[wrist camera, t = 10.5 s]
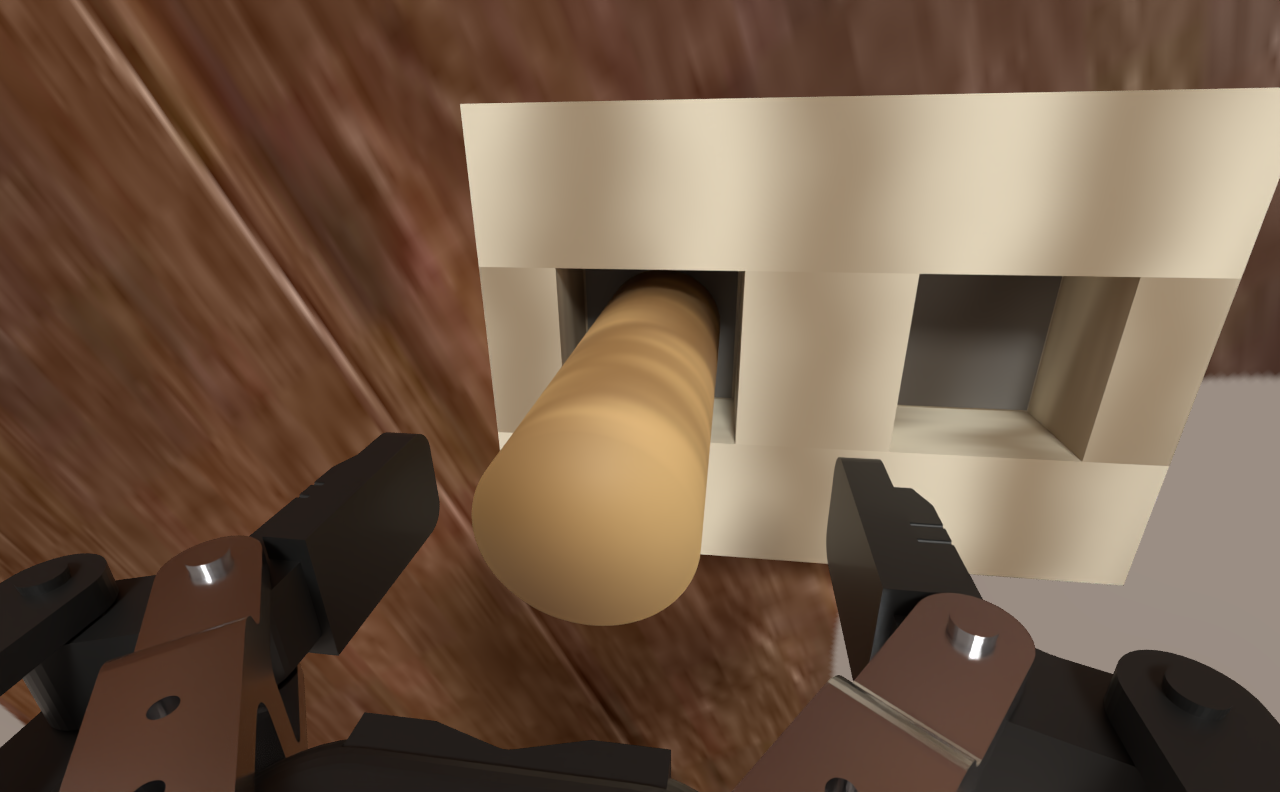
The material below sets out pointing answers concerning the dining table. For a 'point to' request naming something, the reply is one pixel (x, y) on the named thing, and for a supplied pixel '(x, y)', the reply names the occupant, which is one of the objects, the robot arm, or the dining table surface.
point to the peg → (611, 463)
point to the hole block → (897, 292)
